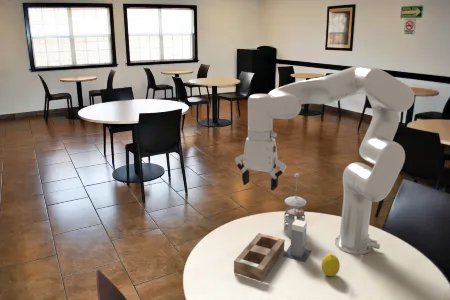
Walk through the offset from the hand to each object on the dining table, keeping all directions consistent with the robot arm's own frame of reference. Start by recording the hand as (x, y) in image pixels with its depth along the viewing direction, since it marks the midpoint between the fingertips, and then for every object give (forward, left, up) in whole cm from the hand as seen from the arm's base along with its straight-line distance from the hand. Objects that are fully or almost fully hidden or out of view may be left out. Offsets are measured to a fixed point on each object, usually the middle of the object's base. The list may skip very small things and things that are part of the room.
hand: (259, 186), depth 122 cm
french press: (-5, -24, -28) cm, 38 cm away
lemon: (-24, -3, -28) cm, 37 cm away
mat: (-11, -10, -28) cm, 32 cm away
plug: (-11, -10, -28) cm, 31 cm away
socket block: (-1, 0, -28) cm, 28 cm away
